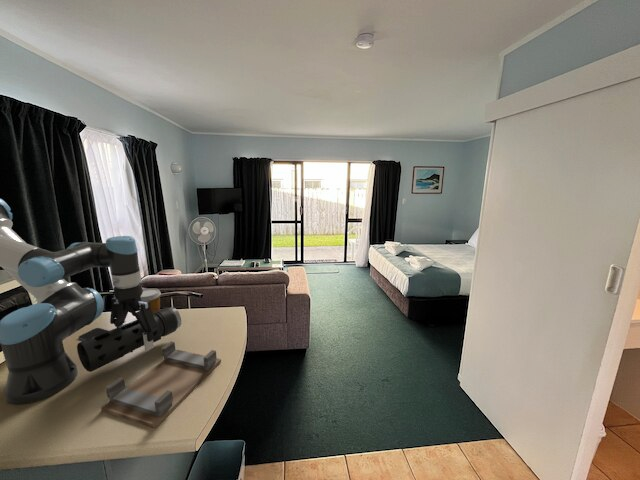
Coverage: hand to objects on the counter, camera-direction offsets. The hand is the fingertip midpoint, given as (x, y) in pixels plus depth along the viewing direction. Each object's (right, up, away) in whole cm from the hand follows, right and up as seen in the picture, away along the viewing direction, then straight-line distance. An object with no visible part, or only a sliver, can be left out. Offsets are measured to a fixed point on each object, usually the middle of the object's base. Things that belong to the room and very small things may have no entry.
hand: (136, 345), depth 94 cm
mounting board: (+17, -7, -11) cm, 21 cm away
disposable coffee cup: (-11, +2, +27) cm, 29 cm away
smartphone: (-22, -2, +13) cm, 26 cm away
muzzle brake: (0, -2, 0) cm, 2 cm away
